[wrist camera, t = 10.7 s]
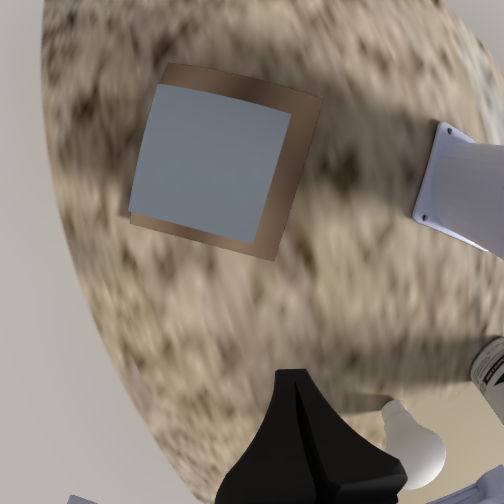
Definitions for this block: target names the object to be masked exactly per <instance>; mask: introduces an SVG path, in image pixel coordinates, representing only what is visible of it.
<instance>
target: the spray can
mask: <svg viewBox="0 0 504 504" xmlns="http://www.w3.org/2000/svg"><path fill="white" fill-rule="evenodd" d="M470 377H471V379H472V381H473V383H474V384H475V385H476V387H477V388H478V389H479V391H480V392H481V394H482V395H483V396H484V397H485V399H486V400H487V402H488V403H489V404H490V406H491V407H492V409H493V410H494V412H495V413H496V415H497V416H498V417H499V419H500V420H501V422H502V423H503V425H504V337H499V338H497V339H494V340H493V341H492V342H490V343H489V344H488V345H487V346H486V347H484V348H483V349H482V350H481V352H480V353H479V354H478V355H477V357H476V358H475V360H474V362H473V364H472V366H471V369H470Z"/></svg>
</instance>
